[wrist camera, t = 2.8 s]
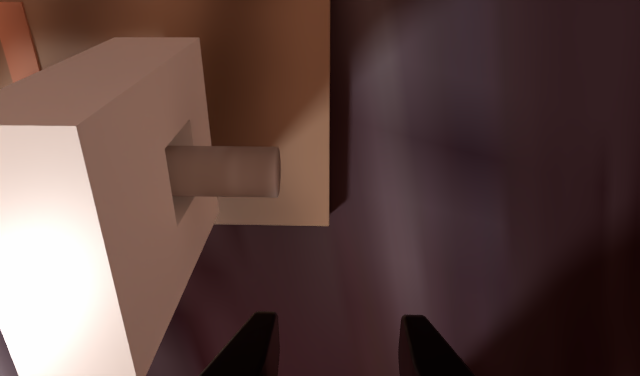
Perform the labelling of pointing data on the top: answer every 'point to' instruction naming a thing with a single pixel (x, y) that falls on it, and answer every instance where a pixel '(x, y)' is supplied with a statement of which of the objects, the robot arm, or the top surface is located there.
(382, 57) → the top surface
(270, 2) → the rod stand
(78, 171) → the tan rectangular block
